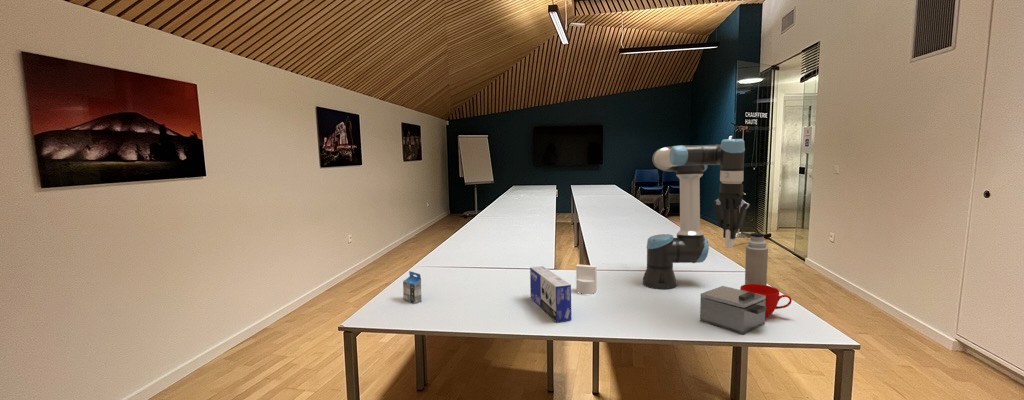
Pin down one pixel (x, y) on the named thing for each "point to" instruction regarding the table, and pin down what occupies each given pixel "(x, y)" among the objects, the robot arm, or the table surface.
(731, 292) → the lid
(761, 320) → the grey rectangular box
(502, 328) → the table surface
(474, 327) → the table surface
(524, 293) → the table surface
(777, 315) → the table surface
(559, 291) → the ink box
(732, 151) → the robot arm
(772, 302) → the ceramic cup
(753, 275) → the thermos bottle
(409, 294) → the label tape box
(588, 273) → the base with upright slab
